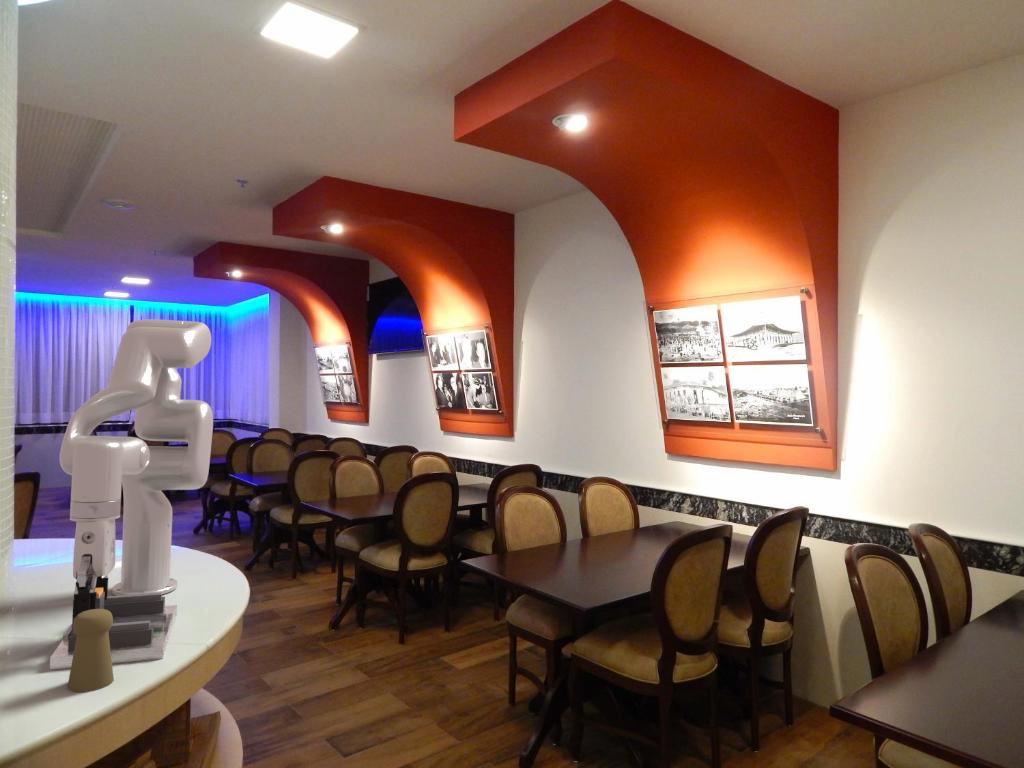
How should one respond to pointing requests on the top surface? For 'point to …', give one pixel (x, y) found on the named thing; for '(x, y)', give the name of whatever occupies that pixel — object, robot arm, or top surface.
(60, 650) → the panel
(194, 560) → the top surface
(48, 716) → the top surface
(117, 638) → the long gray rail
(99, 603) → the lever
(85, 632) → the cork
